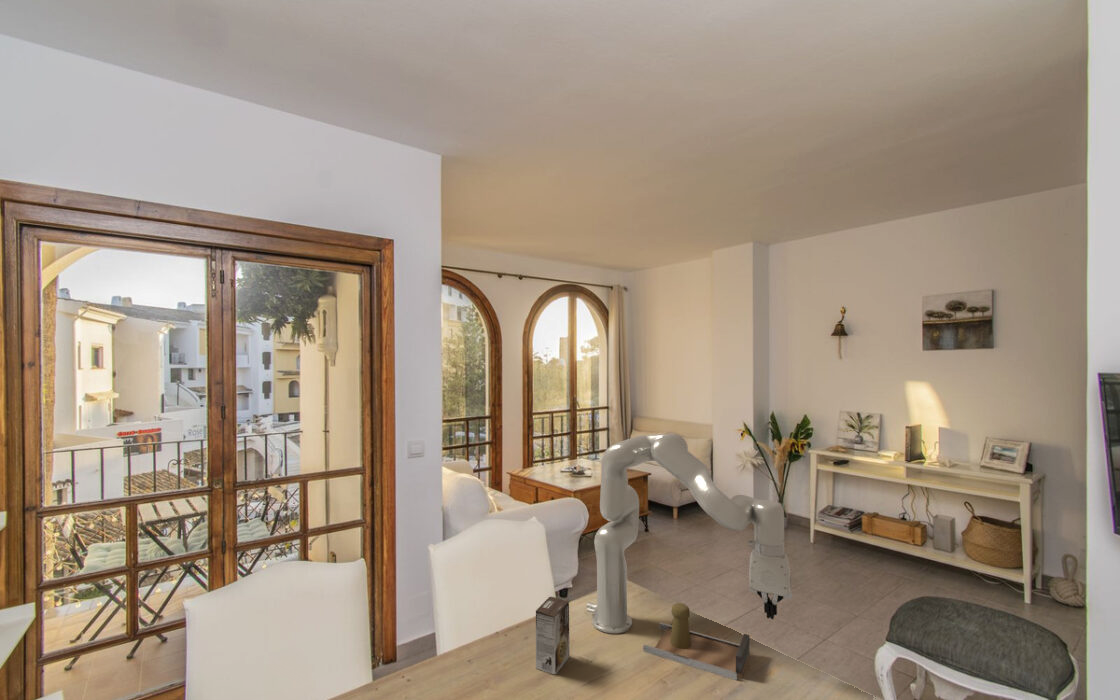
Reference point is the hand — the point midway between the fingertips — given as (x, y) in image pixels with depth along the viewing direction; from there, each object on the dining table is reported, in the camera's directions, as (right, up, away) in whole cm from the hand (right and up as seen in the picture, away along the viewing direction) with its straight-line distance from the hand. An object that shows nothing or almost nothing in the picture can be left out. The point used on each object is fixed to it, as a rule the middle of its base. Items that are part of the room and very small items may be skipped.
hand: (770, 616), depth 136 cm
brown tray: (-16, -16, +9) cm, 24 cm away
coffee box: (-59, -16, +5) cm, 61 cm away
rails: (-18, -16, +10) cm, 26 cm away
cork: (-21, -15, +12) cm, 29 cm away
